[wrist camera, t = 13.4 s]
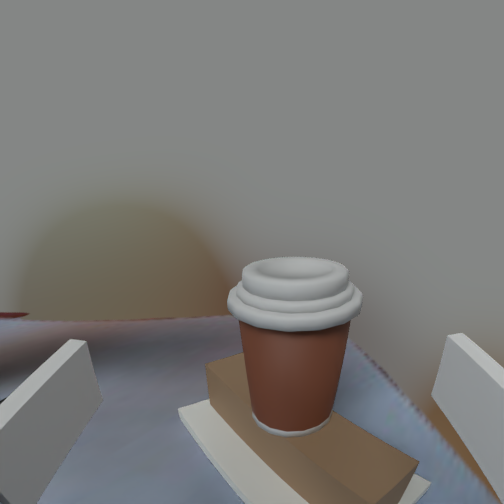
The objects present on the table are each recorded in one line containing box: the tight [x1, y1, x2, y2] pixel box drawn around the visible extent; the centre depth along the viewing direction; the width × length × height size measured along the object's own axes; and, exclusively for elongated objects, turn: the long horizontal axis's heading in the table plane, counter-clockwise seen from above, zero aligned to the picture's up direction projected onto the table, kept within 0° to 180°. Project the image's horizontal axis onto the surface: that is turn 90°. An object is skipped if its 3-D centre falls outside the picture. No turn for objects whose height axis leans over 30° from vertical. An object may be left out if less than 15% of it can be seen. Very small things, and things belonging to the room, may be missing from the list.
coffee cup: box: [227, 257, 363, 438], centre depth 22 cm, size 9×9×12 cm
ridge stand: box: [178, 352, 431, 504], centre depth 24 cm, size 24×12×7 cm, turn 33°
